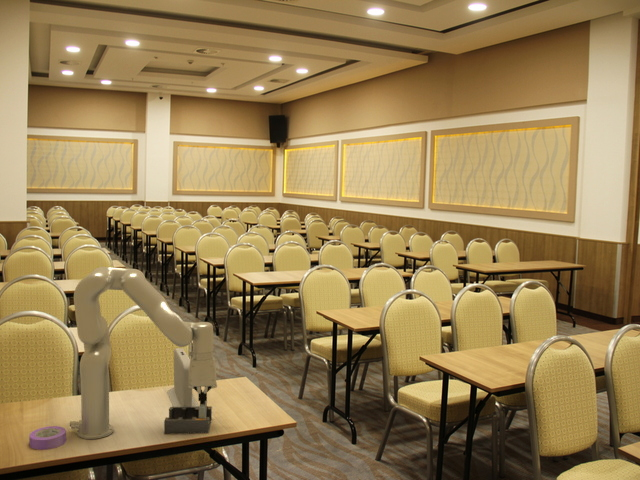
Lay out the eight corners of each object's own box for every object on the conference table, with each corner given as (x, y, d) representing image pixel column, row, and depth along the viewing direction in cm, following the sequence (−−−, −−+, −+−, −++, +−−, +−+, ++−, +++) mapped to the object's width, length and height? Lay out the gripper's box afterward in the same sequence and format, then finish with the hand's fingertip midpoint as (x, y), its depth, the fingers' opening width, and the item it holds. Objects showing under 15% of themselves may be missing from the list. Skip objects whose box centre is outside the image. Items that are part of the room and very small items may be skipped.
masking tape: (50, 452, 204) (50, 441, 203) (21, 447, 207) (21, 436, 206) (73, 438, 215) (73, 428, 215) (45, 434, 218) (45, 424, 218)
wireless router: (201, 411, 244) (201, 363, 242) (176, 414, 240) (176, 365, 239) (188, 387, 273) (188, 344, 271) (165, 389, 269) (166, 345, 267)
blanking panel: (198, 429, 223) (198, 408, 223) (201, 417, 234) (201, 397, 233) (204, 428, 223) (204, 407, 223) (206, 417, 234) (206, 397, 234)
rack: (164, 433, 221) (164, 420, 220) (170, 419, 234) (170, 406, 234) (208, 433, 222) (208, 419, 222) (211, 418, 236) (211, 405, 236)
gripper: (181, 358, 222) (181, 406, 224) (222, 358, 224) (221, 406, 225) (183, 352, 230) (183, 399, 231) (223, 352, 231) (223, 399, 232)
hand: (202, 402), depth 228 cm, fingers closed
